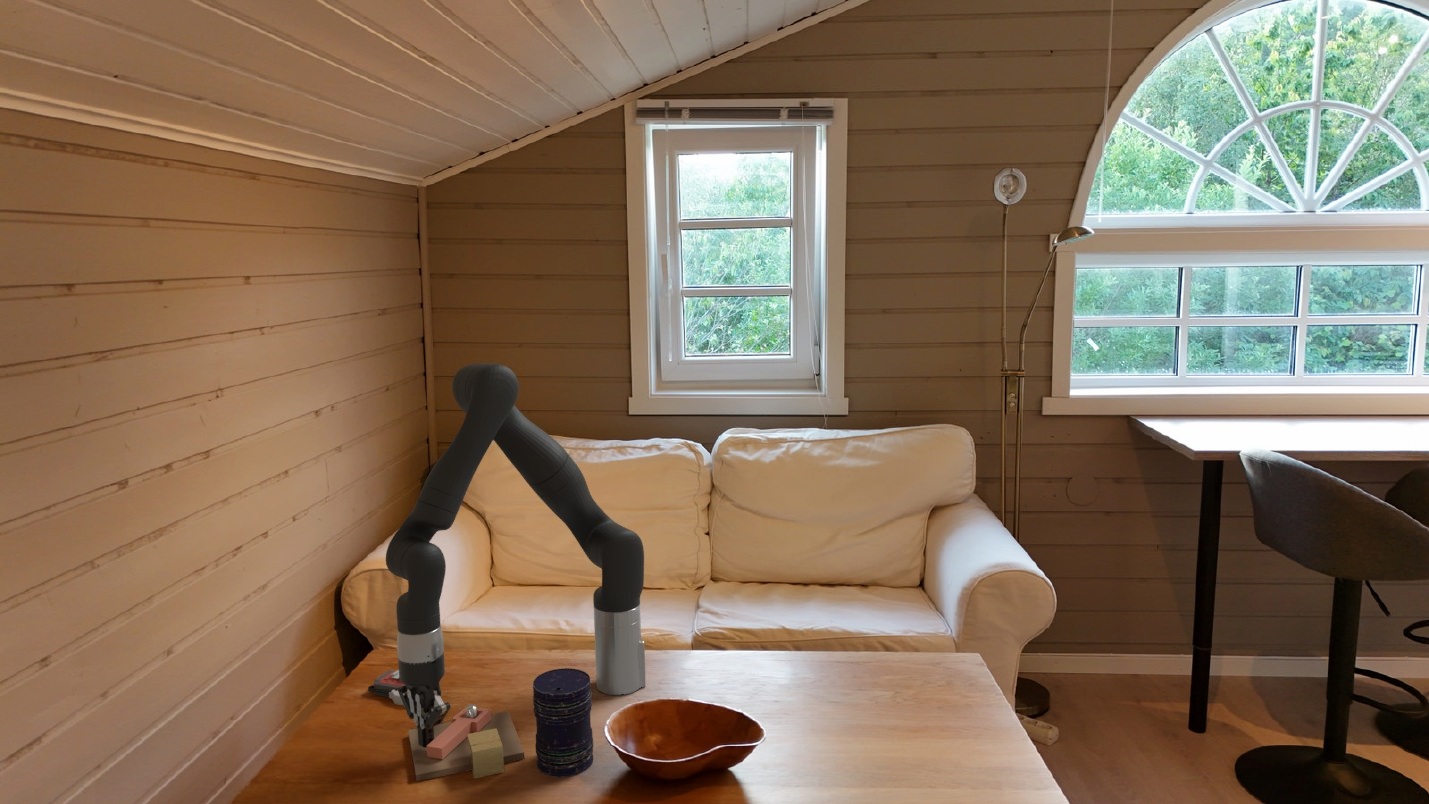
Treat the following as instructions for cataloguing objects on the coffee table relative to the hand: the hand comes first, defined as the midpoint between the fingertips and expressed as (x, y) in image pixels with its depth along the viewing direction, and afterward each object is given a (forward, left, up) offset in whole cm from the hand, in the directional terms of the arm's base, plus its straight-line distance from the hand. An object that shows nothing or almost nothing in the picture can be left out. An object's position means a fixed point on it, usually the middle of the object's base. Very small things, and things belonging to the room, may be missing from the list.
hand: (426, 744), depth 166 cm
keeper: (-9, +7, -2) cm, 12 cm away
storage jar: (-22, +11, -3) cm, 25 cm away
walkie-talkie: (0, -24, -3) cm, 25 cm away
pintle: (-9, -6, -2) cm, 10 cm away
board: (-7, -1, -2) cm, 7 cm away
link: (-6, -2, -1) cm, 6 cm away
